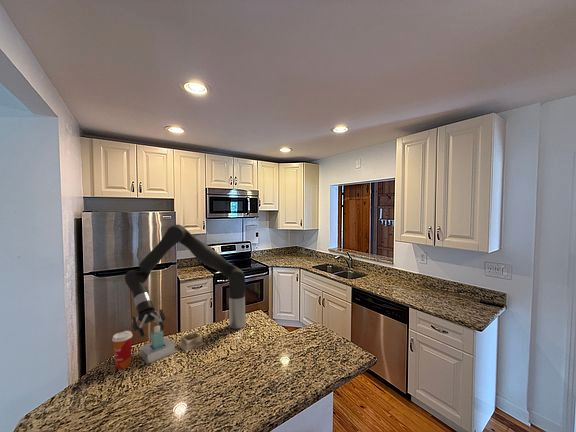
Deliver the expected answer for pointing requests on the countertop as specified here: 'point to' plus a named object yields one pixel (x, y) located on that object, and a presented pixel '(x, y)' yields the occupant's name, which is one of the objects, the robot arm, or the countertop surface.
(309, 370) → the countertop surface
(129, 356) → the paper cup
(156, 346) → the teal bottle
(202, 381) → the countertop surface
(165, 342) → the block
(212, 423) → the countertop surface
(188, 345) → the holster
